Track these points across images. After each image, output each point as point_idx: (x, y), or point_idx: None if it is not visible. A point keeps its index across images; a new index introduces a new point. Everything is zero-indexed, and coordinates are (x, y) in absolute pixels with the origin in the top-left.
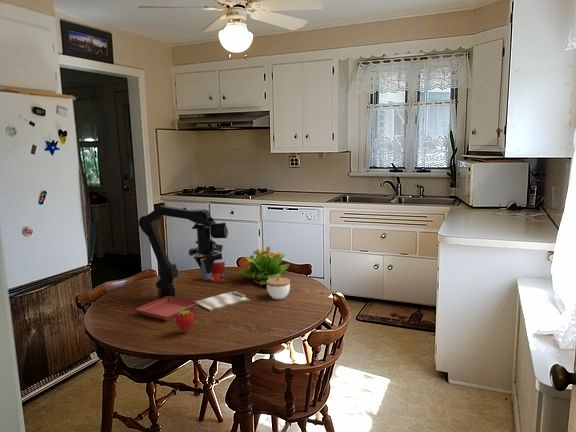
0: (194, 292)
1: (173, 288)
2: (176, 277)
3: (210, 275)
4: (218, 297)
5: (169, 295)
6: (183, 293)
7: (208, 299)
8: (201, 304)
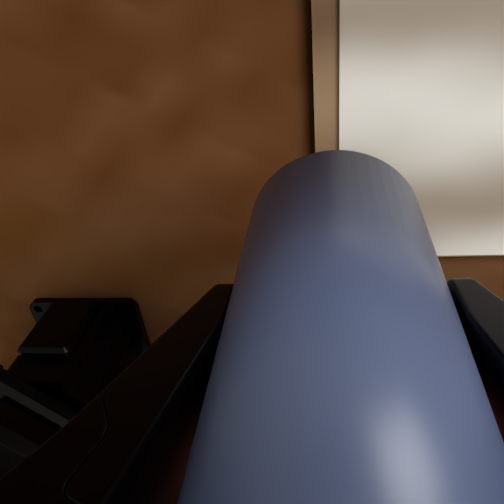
0: (31, 113)
1: (78, 359)
2: (25, 427)
3: (423, 219)
4: (419, 4)
5: (130, 362)
6: (20, 203)
7: (387, 135)
8: (459, 248)
